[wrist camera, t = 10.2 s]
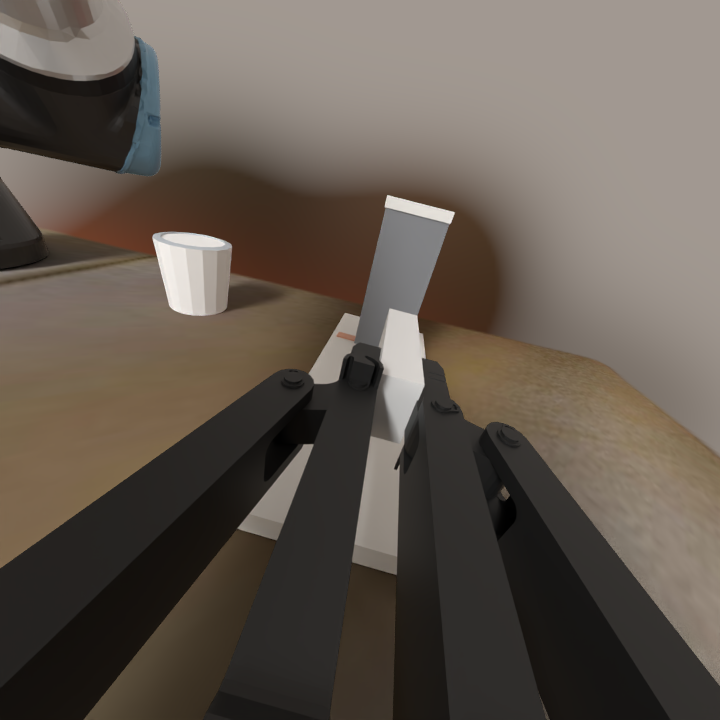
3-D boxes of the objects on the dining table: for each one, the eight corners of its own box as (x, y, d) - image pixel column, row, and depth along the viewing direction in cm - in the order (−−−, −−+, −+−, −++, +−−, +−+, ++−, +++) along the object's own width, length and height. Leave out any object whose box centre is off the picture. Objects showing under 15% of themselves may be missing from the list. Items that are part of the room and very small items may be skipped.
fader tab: (404, 357, 27) (454, 212, 21) (352, 343, 27) (387, 195, 21) (404, 343, 30) (449, 211, 24) (357, 330, 30) (389, 196, 24)
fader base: (437, 587, 13) (450, 570, 12) (228, 526, 13) (228, 506, 12) (419, 344, 35) (423, 332, 34) (342, 323, 36) (345, 311, 35)
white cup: (167, 320, 27) (156, 245, 24) (158, 294, 31) (148, 227, 28) (240, 316, 31) (241, 251, 28) (223, 293, 36) (222, 235, 32)
